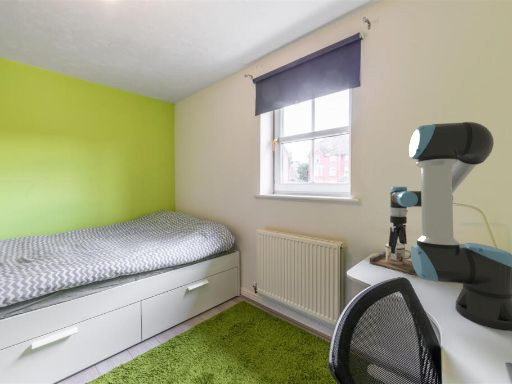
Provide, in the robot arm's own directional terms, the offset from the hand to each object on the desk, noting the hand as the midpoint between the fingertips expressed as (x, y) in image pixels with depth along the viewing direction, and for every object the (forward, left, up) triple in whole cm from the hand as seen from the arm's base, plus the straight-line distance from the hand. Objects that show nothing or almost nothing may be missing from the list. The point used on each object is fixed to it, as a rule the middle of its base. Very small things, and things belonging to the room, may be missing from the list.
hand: (397, 257), depth 125 cm
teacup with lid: (+1, 0, -3) cm, 3 cm away
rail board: (0, 0, -4) cm, 4 cm away
